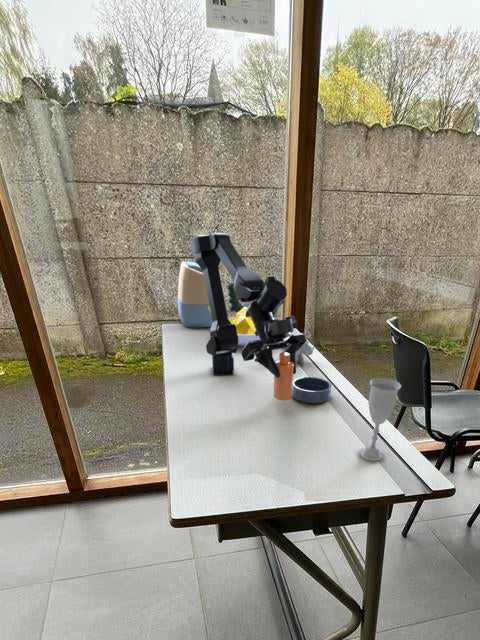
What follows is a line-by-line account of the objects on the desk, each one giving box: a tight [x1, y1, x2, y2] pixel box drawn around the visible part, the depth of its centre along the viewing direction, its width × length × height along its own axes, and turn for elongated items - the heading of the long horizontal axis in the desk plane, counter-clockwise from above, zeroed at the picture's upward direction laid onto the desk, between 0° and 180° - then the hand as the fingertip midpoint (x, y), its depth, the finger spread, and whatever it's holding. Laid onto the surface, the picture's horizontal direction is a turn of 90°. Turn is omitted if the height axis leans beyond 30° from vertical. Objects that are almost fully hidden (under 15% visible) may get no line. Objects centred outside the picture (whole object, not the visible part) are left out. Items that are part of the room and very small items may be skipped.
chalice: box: [360, 377, 402, 462], centre depth 100 cm, size 7×7×18 cm
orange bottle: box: [272, 352, 294, 401], centre depth 120 cm, size 5×5×12 cm
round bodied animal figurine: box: [281, 336, 315, 363], centre depth 156 cm, size 7×12×8 cm, turn 98°
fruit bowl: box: [207, 306, 260, 347], centre depth 172 cm, size 28×27×11 cm
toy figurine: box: [227, 280, 286, 318], centre depth 194 cm, size 9×19×25 cm
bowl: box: [292, 376, 332, 405], centre depth 132 cm, size 12×12×4 cm
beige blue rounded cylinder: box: [177, 261, 213, 328], centre depth 184 cm, size 17×17×23 cm
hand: (286, 375), depth 118 cm, fingers closed on orange bottle, 5 cm apart
